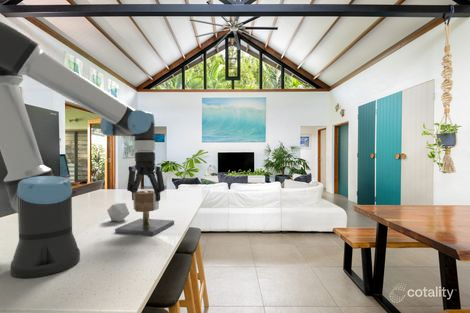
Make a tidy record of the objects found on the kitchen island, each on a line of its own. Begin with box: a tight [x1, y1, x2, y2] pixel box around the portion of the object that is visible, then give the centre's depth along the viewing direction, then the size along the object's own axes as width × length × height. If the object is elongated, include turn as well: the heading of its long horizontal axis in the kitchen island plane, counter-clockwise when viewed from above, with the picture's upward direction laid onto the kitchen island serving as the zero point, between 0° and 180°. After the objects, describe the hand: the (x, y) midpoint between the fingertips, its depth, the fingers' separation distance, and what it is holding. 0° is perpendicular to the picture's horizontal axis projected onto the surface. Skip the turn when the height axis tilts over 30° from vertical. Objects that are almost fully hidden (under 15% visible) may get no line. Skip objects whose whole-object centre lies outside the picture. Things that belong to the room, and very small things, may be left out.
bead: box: [134, 189, 155, 213], centre depth 105 cm, size 8×8×7 cm
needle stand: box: [114, 190, 175, 236], centre depth 105 cm, size 16×16×15 cm
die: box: [107, 202, 130, 223], centre depth 118 cm, size 8×9×10 cm
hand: (146, 208), depth 106 cm, fingers closed on bead, 8 cm apart
